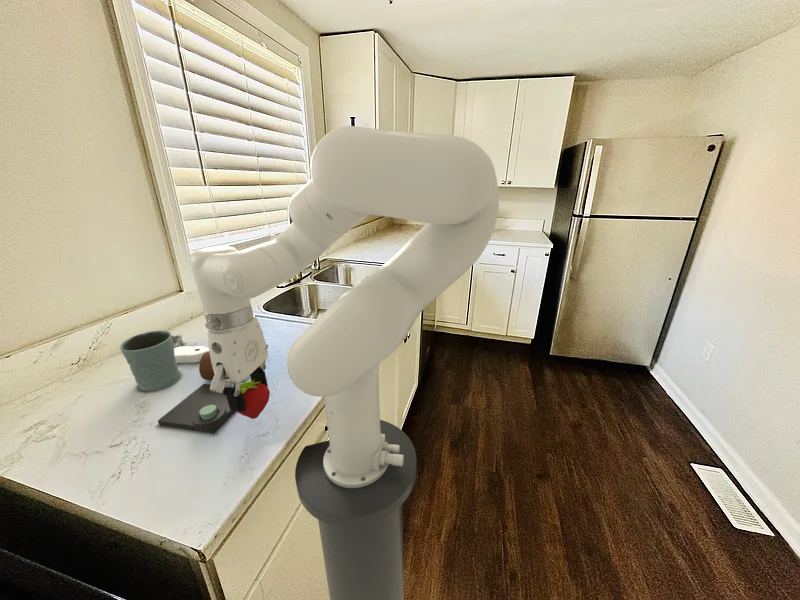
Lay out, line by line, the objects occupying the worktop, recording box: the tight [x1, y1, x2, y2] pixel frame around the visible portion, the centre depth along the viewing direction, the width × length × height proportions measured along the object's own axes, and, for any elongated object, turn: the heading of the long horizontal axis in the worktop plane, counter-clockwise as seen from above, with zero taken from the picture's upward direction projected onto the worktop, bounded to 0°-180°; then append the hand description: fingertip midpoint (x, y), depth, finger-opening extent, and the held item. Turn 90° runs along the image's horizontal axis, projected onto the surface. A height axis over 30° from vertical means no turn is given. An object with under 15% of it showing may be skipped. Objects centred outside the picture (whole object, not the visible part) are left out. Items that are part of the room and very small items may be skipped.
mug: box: [198, 351, 215, 382], centre depth 85 cm, size 12×8×9 cm
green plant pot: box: [119, 330, 180, 392], centre depth 80 cm, size 10×10×12 cm
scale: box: [157, 383, 237, 435], centre depth 72 cm, size 14×14×3 cm
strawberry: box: [231, 378, 271, 420], centre depth 65 cm, size 6×8×10 cm
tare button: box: [199, 405, 218, 420], centre depth 66 cm, size 3×3×2 cm
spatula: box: [174, 345, 209, 364], centre depth 92 cm, size 28×6×3 cm, turn 93°
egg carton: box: [171, 334, 184, 348], centre depth 96 cm, size 11×8×4 cm
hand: (250, 397), depth 65 cm, fingers closed on strawberry, 6 cm apart
